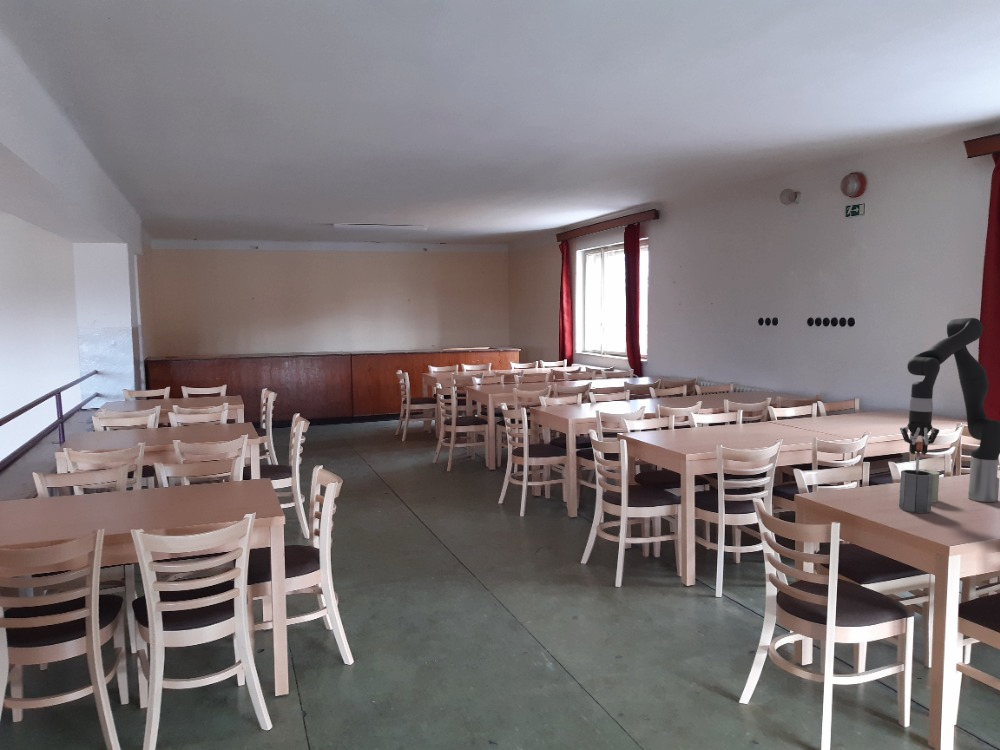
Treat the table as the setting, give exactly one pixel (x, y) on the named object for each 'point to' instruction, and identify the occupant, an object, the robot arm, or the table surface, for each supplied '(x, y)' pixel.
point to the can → (934, 484)
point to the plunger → (918, 454)
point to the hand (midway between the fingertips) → (918, 453)
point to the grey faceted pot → (916, 491)
